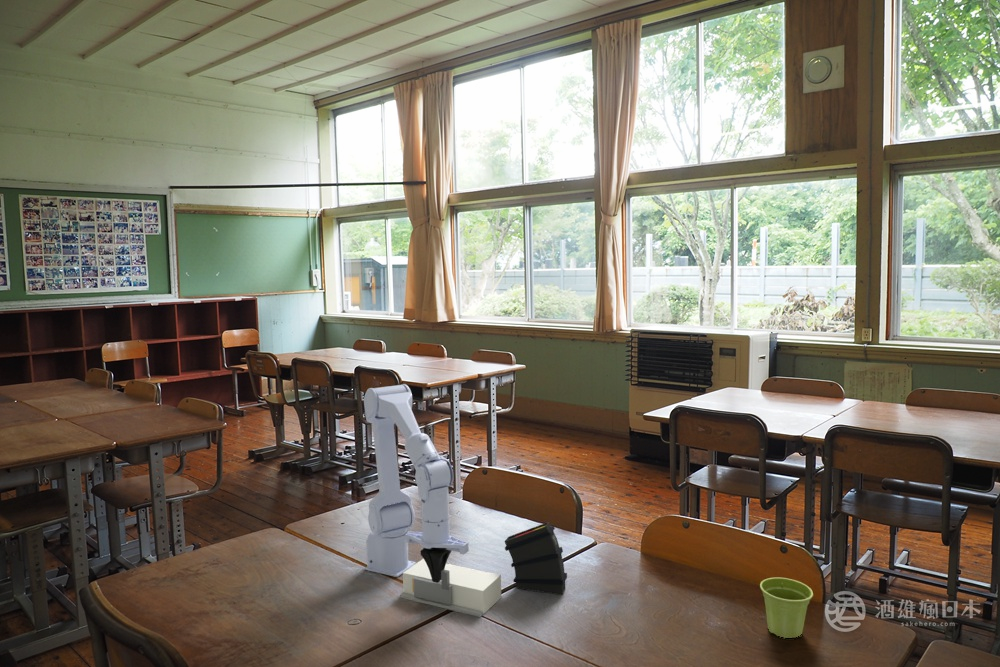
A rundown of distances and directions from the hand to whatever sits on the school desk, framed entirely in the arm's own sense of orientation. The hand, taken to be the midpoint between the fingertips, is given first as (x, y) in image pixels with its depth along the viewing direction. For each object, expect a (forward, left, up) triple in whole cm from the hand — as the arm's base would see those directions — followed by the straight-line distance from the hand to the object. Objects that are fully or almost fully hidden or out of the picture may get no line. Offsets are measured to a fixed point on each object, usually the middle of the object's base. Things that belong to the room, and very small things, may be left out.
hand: (437, 580), depth 144 cm
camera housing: (0, +5, -6) cm, 8 cm away
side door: (-2, 0, -5) cm, 5 cm away
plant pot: (+66, +20, -6) cm, 70 cm away
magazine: (+15, +16, -6) cm, 23 cm away
